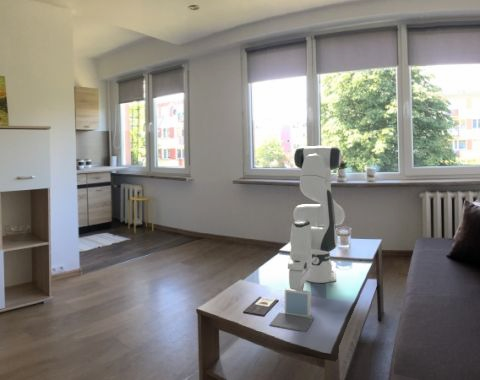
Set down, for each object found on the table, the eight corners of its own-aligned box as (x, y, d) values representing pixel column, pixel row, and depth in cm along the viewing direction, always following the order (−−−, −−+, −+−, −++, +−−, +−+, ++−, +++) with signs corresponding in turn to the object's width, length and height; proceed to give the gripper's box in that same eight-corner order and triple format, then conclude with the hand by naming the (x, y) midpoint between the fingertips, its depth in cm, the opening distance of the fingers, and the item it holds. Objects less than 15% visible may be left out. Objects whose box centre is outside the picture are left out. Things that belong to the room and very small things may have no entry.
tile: (286, 311, 157) (286, 287, 156) (310, 315, 153) (310, 291, 152) (284, 313, 155) (284, 289, 154) (308, 317, 151) (309, 293, 150)
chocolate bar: (243, 311, 156) (259, 296, 172) (243, 313, 156) (259, 298, 172) (264, 315, 152) (278, 299, 168) (263, 317, 152) (278, 301, 168)
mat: (279, 313, 155) (279, 312, 155) (313, 319, 149) (313, 318, 149) (269, 325, 144) (269, 324, 144) (306, 332, 138) (306, 331, 138)
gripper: (299, 253, 167) (299, 284, 168) (286, 266, 148) (285, 300, 149) (314, 255, 164) (313, 286, 165) (302, 267, 145) (301, 303, 146)
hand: (300, 293), depth 157 cm, fingers closed
